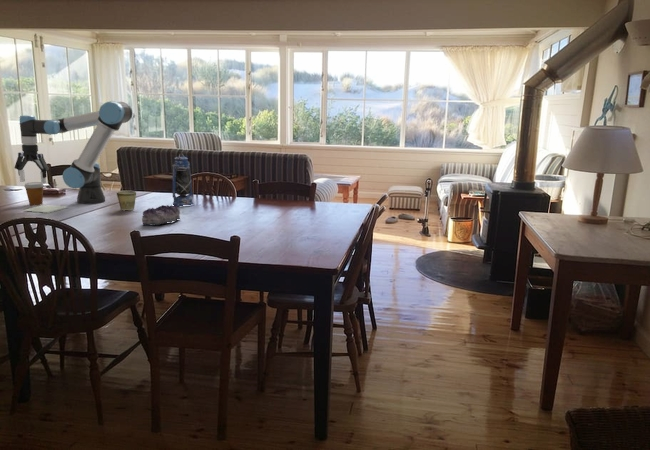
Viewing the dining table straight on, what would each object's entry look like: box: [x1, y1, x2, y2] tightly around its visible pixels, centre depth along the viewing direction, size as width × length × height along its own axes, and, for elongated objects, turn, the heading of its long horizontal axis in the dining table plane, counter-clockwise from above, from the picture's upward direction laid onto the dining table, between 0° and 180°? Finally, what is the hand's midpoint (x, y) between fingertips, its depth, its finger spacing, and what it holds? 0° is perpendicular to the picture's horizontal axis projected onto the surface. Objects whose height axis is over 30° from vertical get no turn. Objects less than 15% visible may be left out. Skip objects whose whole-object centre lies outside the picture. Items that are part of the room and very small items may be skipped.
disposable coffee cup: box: [24, 181, 44, 206], centre depth 279 cm, size 10×10×12 cm
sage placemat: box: [22, 204, 69, 214], centre depth 267 cm, size 15×15×1 cm
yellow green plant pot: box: [116, 190, 137, 211], centre depth 273 cm, size 13×10×10 cm
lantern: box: [171, 153, 194, 206], centre depth 288 cm, size 15×12×30 cm
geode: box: [141, 204, 181, 226], centre depth 245 cm, size 20×12×10 cm, turn 152°
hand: (33, 182), depth 277 cm, fingers open, 13 cm apart
